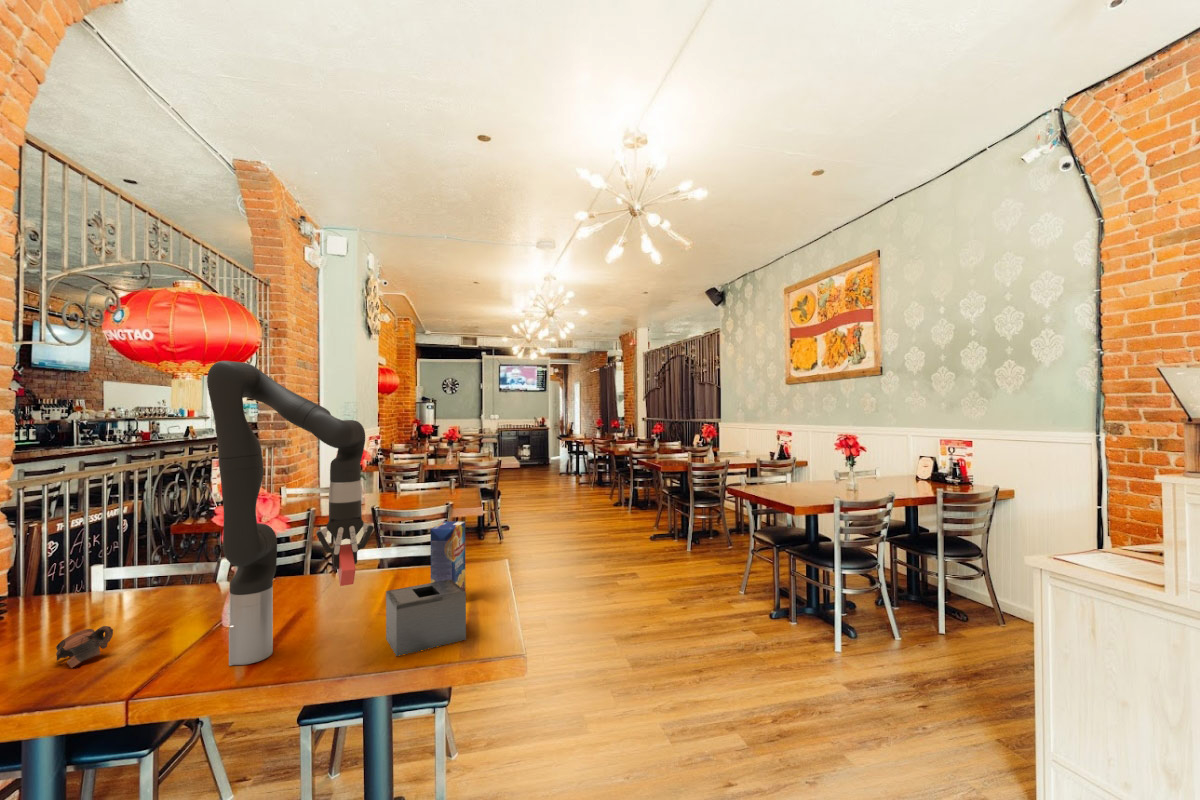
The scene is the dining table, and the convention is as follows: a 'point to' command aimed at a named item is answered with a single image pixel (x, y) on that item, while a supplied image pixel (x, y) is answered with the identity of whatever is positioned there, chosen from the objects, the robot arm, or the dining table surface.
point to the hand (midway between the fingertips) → (345, 566)
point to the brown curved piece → (83, 645)
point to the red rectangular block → (346, 565)
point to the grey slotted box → (425, 616)
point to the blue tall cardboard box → (448, 553)
